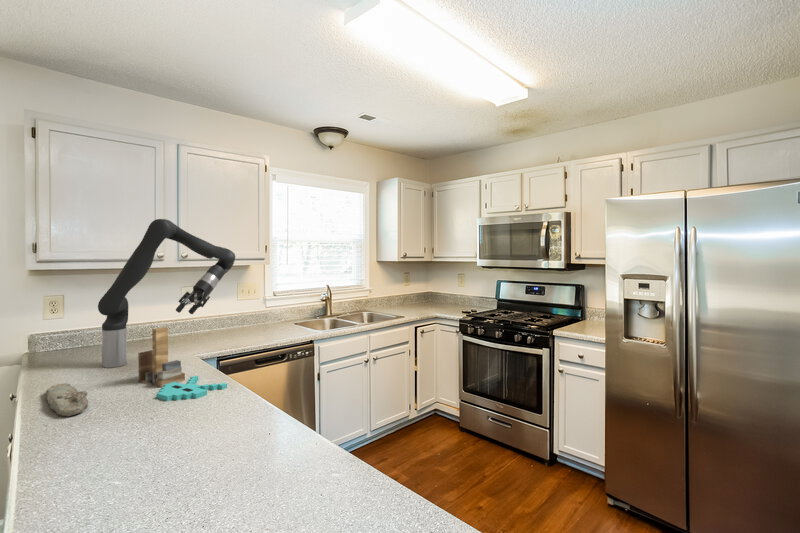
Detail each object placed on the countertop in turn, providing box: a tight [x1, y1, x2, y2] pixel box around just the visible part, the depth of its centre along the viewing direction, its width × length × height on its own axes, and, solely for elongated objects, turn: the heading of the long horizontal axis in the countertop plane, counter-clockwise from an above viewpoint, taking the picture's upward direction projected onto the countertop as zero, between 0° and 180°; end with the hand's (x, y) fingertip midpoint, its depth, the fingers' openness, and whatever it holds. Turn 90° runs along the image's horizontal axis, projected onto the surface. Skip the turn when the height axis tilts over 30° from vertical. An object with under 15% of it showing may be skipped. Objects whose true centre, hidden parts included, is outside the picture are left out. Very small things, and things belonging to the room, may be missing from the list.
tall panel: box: [151, 326, 169, 374], centre depth 165 cm, size 2×5×22 cm, turn 154°
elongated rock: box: [44, 382, 89, 417], centre depth 141 cm, size 35×5×10 cm
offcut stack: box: [155, 359, 186, 388], centre depth 162 cm, size 4×10×8 cm, turn 154°
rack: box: [137, 349, 157, 386], centre depth 166 cm, size 10×10×12 cm
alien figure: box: [156, 375, 228, 402], centre depth 154 cm, size 20×2×20 cm
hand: (183, 312), depth 174 cm, fingers open, 8 cm apart
